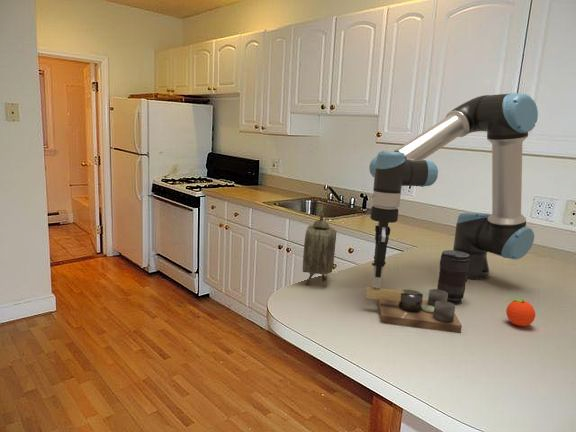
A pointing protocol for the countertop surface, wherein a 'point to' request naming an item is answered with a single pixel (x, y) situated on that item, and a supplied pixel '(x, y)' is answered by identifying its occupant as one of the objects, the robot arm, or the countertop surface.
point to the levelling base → (423, 313)
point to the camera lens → (453, 274)
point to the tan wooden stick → (398, 297)
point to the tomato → (520, 312)
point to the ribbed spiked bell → (319, 248)
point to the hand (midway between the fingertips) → (376, 286)
